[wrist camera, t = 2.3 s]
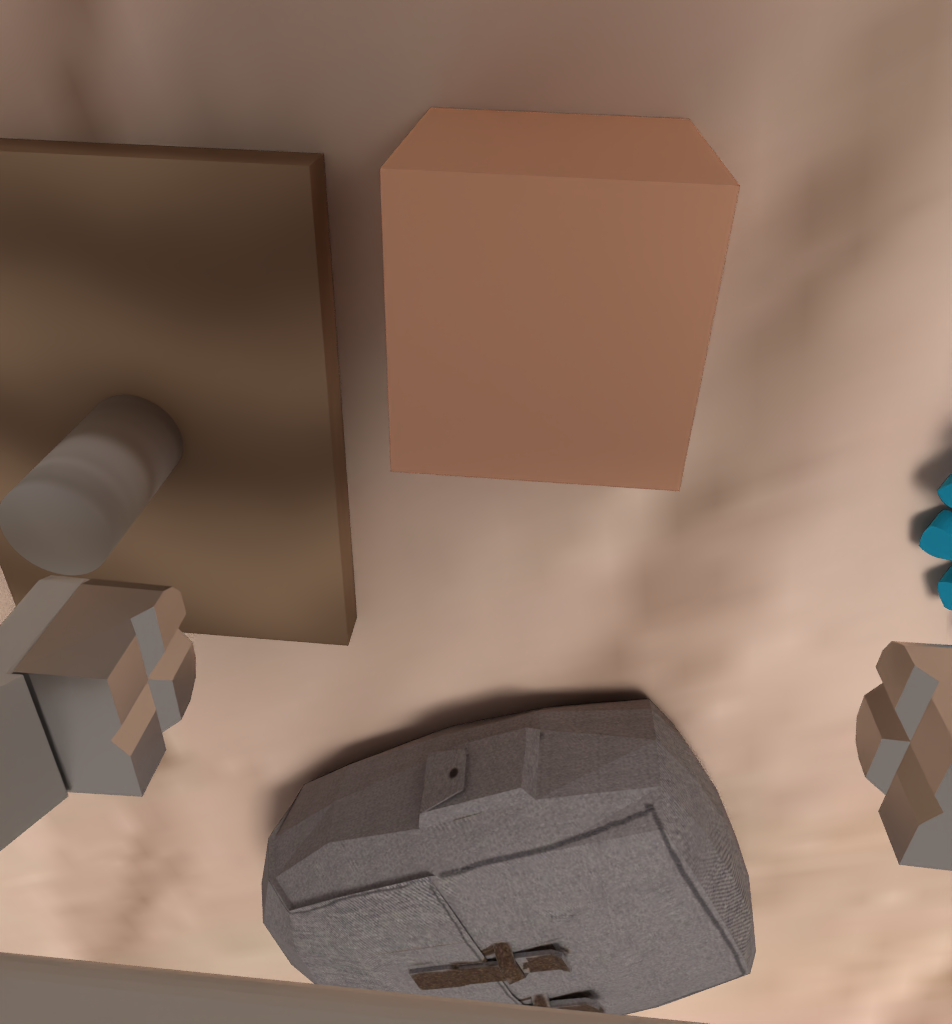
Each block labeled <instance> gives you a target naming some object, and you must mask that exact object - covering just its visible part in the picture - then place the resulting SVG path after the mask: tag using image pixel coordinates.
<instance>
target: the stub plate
mask: <svg viewBox="0 0 952 1024" xmlns="http://www.w3.org/2000/svg"><path fill="white" fill-rule="evenodd" d="M0 565H1V568H2V570H3V573H4V576H5V578H6V581H7V584H8V586H9V589H10V592H11V594H12V597H13V600H14V602H15V605H16V606H17V605H18V604H19V603H20V602H21V600H22V599H23V598H24V597H25V596H26V595H27V593H28V592H29V591H30V590H31V589H32V588H33V586H34V585H35V584H36V583H37V582H38V581H39V580H41V579H43V578H46V577H48V576H51V575H54V576H64V577H75V578H85V579H102V580H112V581H122V582H132V583H143V584H153V585H163V586H172V587H174V588H176V589H177V590H179V591H180V592H181V595H182V599H183V603H184V606H185V610H186V615H185V617H184V619H183V621H182V622H181V624H180V626H179V628H178V629H179V630H180V631H182V632H184V633H197V634H209V635H222V636H234V637H247V638H259V639H272V640H284V641H297V642H309V643H322V644H334V645H347V646H348V645H349V642H350V638H351V635H352V632H353V628H354V625H355V622H356V619H357V612H356V598H355V584H354V570H353V556H352V542H351V528H350V515H349V501H348V487H347V473H346V459H345V445H344V431H343V417H342V403H341V389H340V375H339V361H338V347H337V333H336V319H335V305H334V291H333V277H332V263H331V249H330V235H329V221H328V207H327V193H326V179H325V165H324V154H321V153H300V152H279V151H258V150H236V149H215V148H194V147H173V146H152V145H131V144H109V143H88V142H67V141H46V140H25V139H4V138H0Z"/></svg>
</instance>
